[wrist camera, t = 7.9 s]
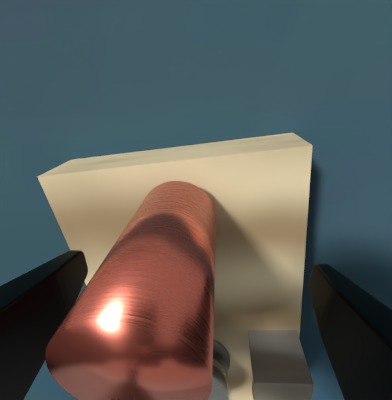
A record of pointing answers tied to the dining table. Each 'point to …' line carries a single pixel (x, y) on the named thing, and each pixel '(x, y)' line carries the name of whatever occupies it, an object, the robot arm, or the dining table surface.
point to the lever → (148, 309)
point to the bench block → (225, 241)
